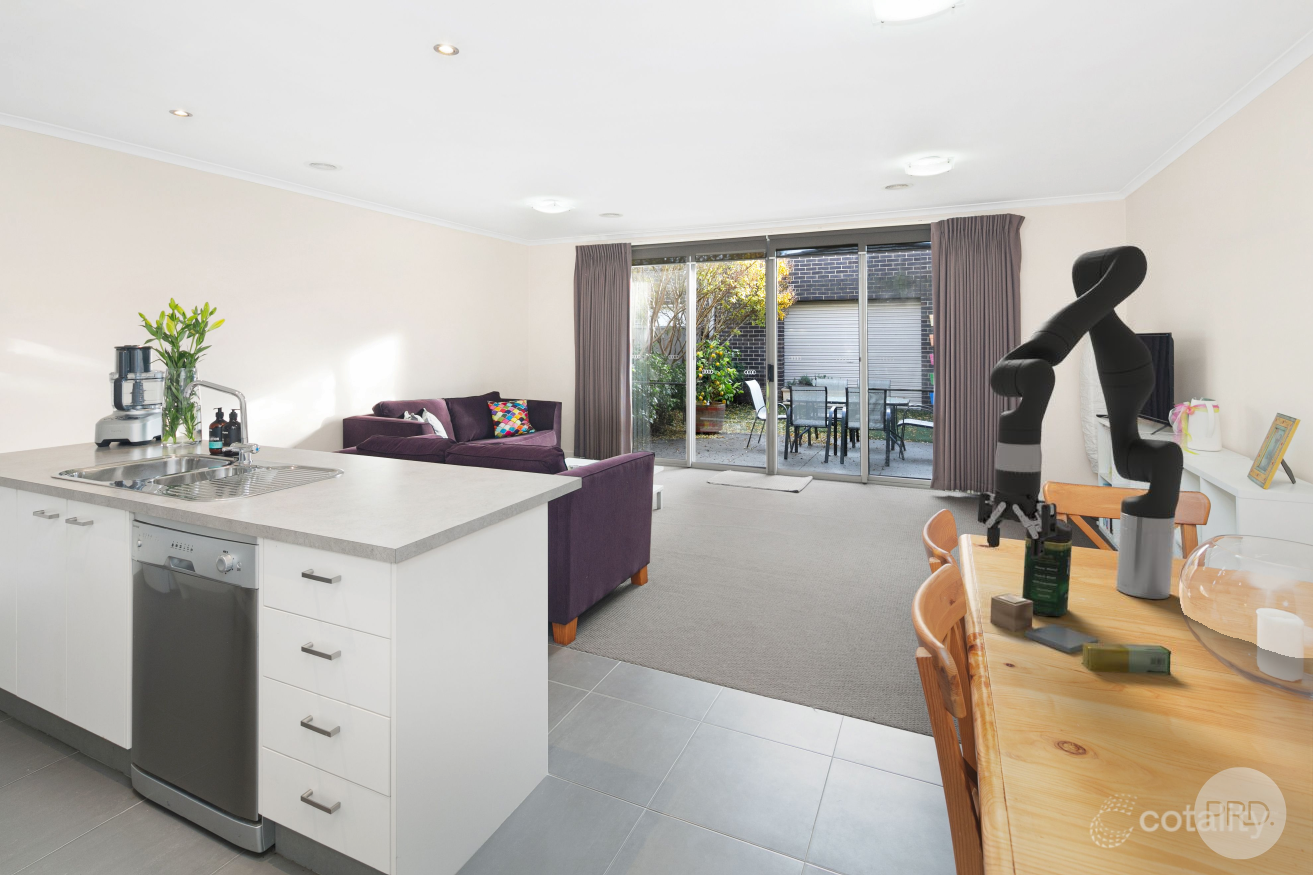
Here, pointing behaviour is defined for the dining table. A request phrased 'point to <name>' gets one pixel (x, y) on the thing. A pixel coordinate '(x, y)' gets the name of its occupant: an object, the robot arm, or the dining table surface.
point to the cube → (1011, 612)
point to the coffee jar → (1049, 573)
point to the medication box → (1127, 658)
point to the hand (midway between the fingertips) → (1014, 551)
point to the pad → (1060, 638)
